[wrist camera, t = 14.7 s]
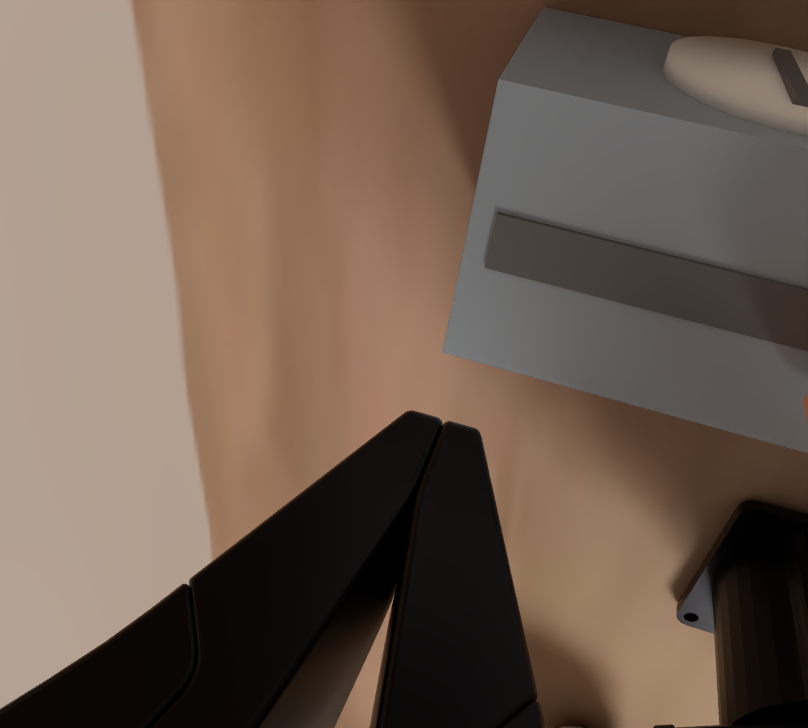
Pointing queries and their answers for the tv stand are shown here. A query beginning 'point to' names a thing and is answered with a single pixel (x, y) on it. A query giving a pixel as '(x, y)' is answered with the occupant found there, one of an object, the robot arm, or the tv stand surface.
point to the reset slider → (806, 405)
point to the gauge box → (646, 224)
